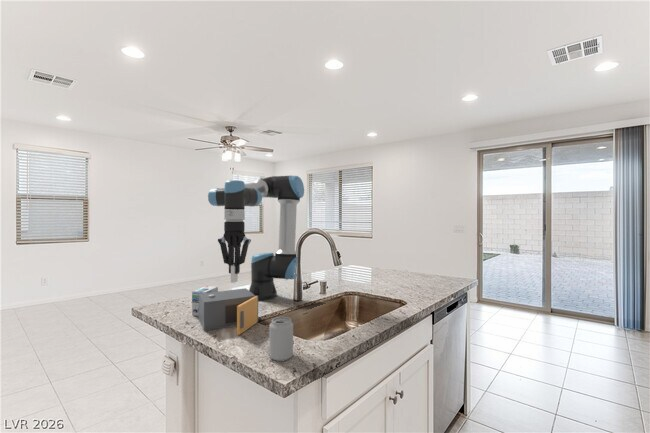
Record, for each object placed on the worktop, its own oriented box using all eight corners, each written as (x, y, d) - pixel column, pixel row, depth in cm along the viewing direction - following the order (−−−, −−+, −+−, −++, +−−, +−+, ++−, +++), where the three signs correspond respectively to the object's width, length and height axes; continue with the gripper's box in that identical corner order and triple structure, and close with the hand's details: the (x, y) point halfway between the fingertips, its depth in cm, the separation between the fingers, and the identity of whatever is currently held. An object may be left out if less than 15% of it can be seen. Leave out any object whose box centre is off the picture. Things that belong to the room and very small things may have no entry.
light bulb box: (205, 316, 137) (205, 292, 136) (191, 315, 138) (191, 291, 138) (218, 309, 147) (218, 286, 147) (205, 308, 148) (205, 285, 148)
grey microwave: (248, 312, 143) (248, 286, 143) (258, 321, 131) (258, 294, 131) (198, 319, 133) (198, 292, 133) (204, 331, 120) (204, 301, 120)
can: (264, 360, 98) (264, 321, 97) (276, 350, 105) (276, 314, 104) (286, 364, 95) (286, 324, 95) (297, 353, 102) (297, 316, 102)
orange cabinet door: (256, 320, 131) (256, 295, 130) (260, 321, 130) (260, 296, 130) (236, 334, 116) (236, 306, 116) (241, 335, 116) (241, 306, 116)
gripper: (213, 220, 119) (213, 283, 119) (246, 221, 117) (245, 285, 117) (223, 220, 126) (223, 279, 127) (254, 220, 124) (253, 280, 124)
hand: (234, 281), depth 122 cm, fingers closed
